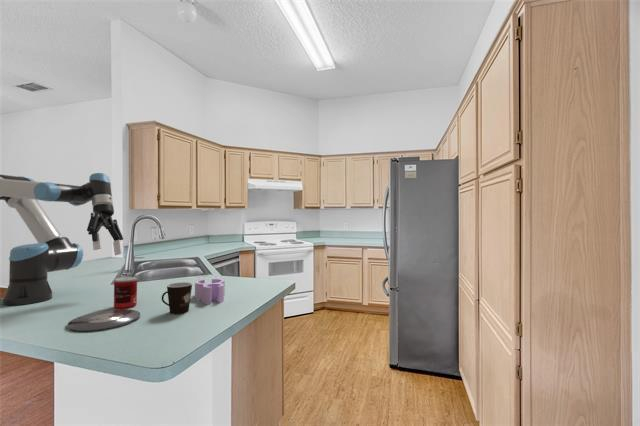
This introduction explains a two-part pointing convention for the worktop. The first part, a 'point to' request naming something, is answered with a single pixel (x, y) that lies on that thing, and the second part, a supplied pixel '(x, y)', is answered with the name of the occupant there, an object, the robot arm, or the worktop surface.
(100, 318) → the plate
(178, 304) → the coffee mug
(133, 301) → the canned food
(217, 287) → the clip
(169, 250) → the worktop surface
